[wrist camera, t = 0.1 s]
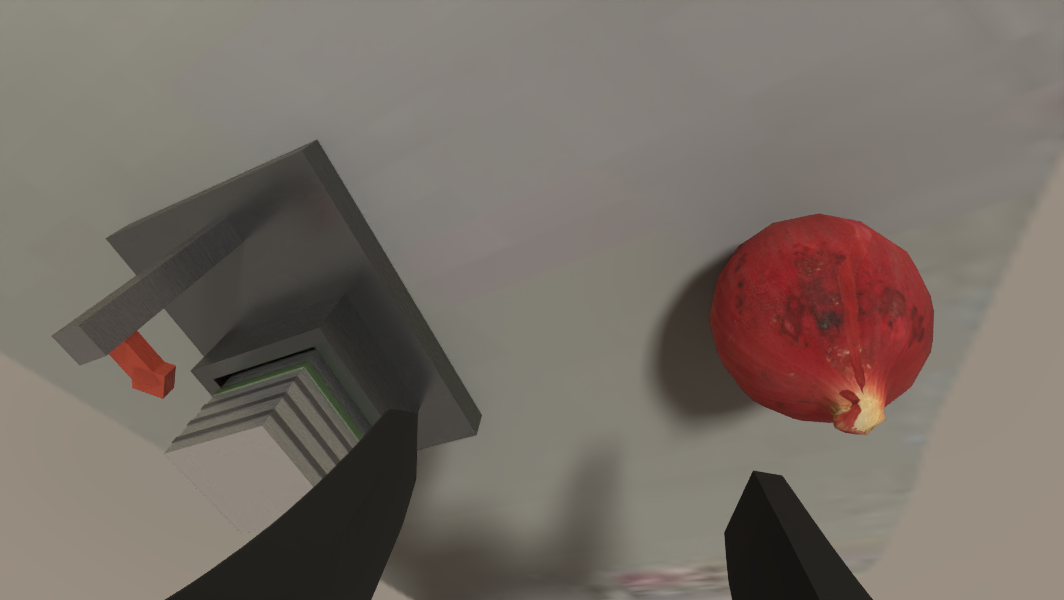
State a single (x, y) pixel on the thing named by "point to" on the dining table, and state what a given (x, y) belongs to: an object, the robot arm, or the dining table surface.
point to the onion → (822, 321)
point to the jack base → (276, 296)
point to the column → (269, 438)
